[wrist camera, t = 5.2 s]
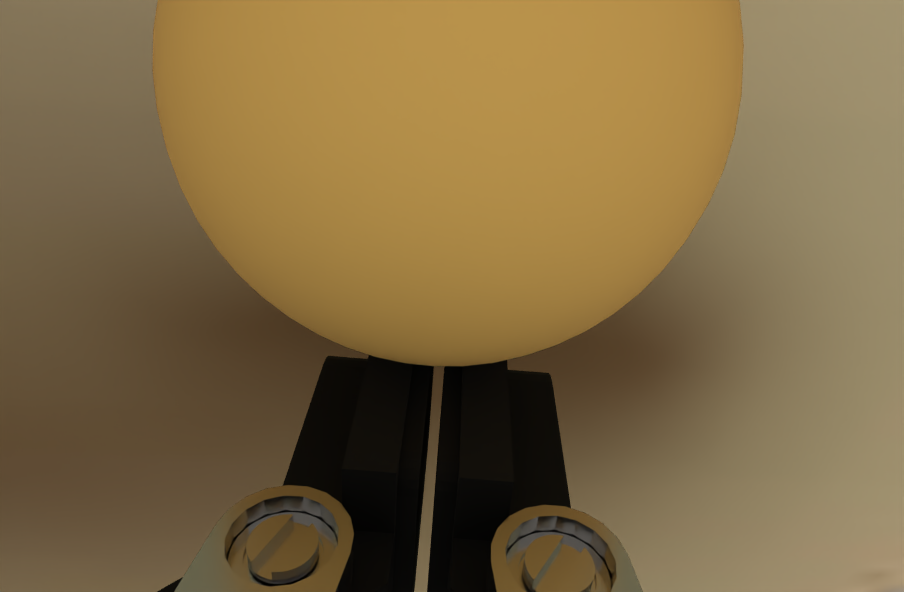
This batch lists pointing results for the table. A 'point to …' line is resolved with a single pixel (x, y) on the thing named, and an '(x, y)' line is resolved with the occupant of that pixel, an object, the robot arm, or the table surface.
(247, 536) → the robot arm
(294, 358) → the table surface
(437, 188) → the ball
